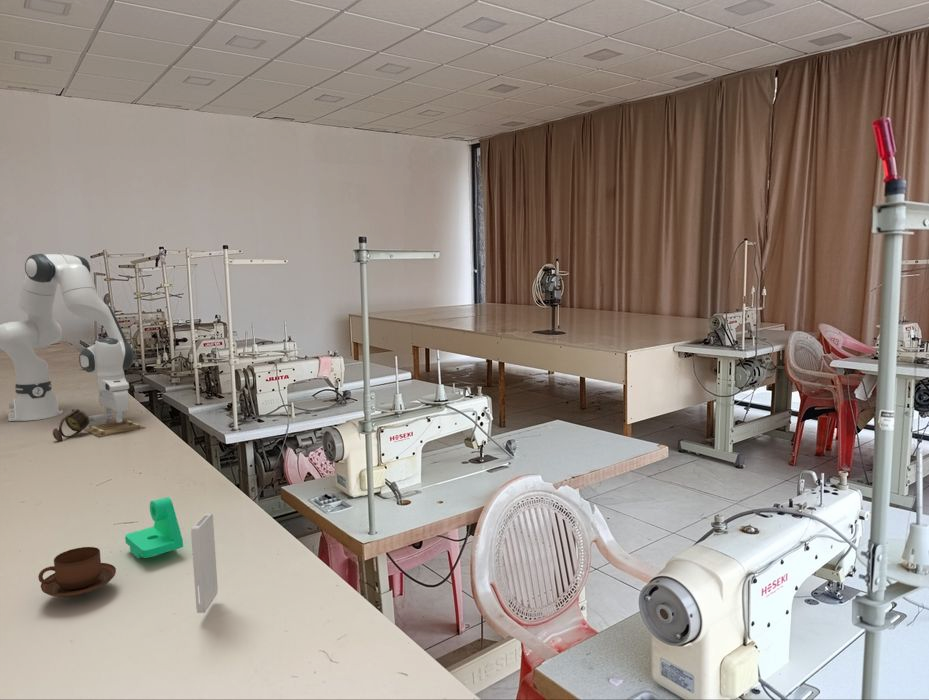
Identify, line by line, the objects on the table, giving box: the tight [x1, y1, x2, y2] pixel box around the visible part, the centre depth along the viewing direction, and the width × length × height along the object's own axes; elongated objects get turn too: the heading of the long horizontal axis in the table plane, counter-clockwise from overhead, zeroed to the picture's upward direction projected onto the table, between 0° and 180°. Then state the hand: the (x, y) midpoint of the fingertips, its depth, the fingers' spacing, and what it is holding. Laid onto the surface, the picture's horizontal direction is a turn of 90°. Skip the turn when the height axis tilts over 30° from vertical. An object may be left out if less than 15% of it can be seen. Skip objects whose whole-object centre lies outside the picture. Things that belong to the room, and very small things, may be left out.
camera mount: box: [124, 496, 184, 559], centre depth 137 cm, size 12×8×10 cm, turn 44°
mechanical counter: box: [52, 408, 90, 442], centre depth 230 cm, size 7×13×10 cm, turn 174°
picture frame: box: [83, 419, 146, 439], centre depth 240 cm, size 15×16×2 cm
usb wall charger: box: [88, 413, 111, 426], centre depth 251 cm, size 4×7×4 cm, turn 151°
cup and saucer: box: [37, 546, 117, 598], centre depth 121 cm, size 12×12×6 cm
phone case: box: [190, 513, 219, 614], centre depth 113 cm, size 7×1×15 cm, turn 3°
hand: (114, 420), depth 240 cm, fingers open, 8 cm apart
